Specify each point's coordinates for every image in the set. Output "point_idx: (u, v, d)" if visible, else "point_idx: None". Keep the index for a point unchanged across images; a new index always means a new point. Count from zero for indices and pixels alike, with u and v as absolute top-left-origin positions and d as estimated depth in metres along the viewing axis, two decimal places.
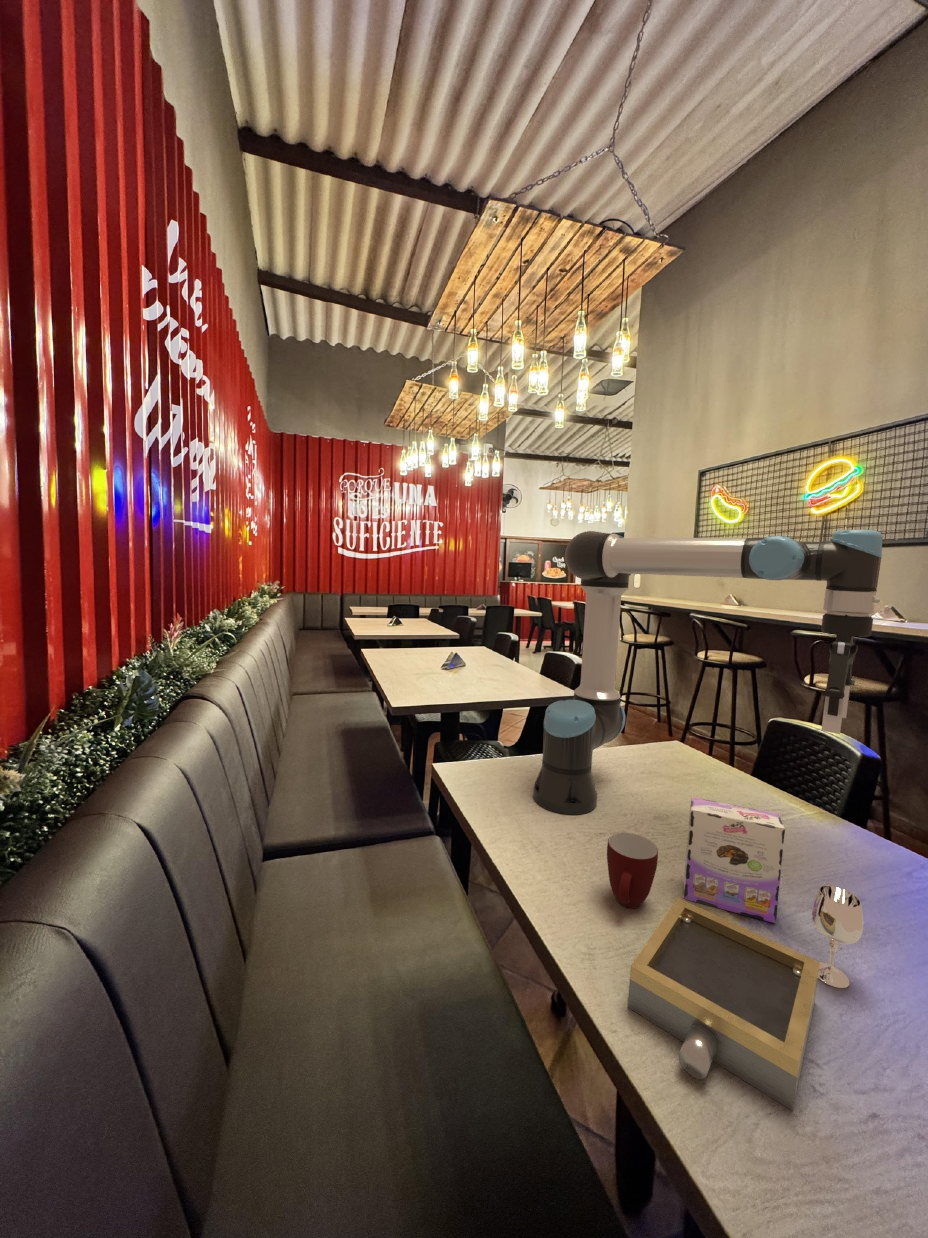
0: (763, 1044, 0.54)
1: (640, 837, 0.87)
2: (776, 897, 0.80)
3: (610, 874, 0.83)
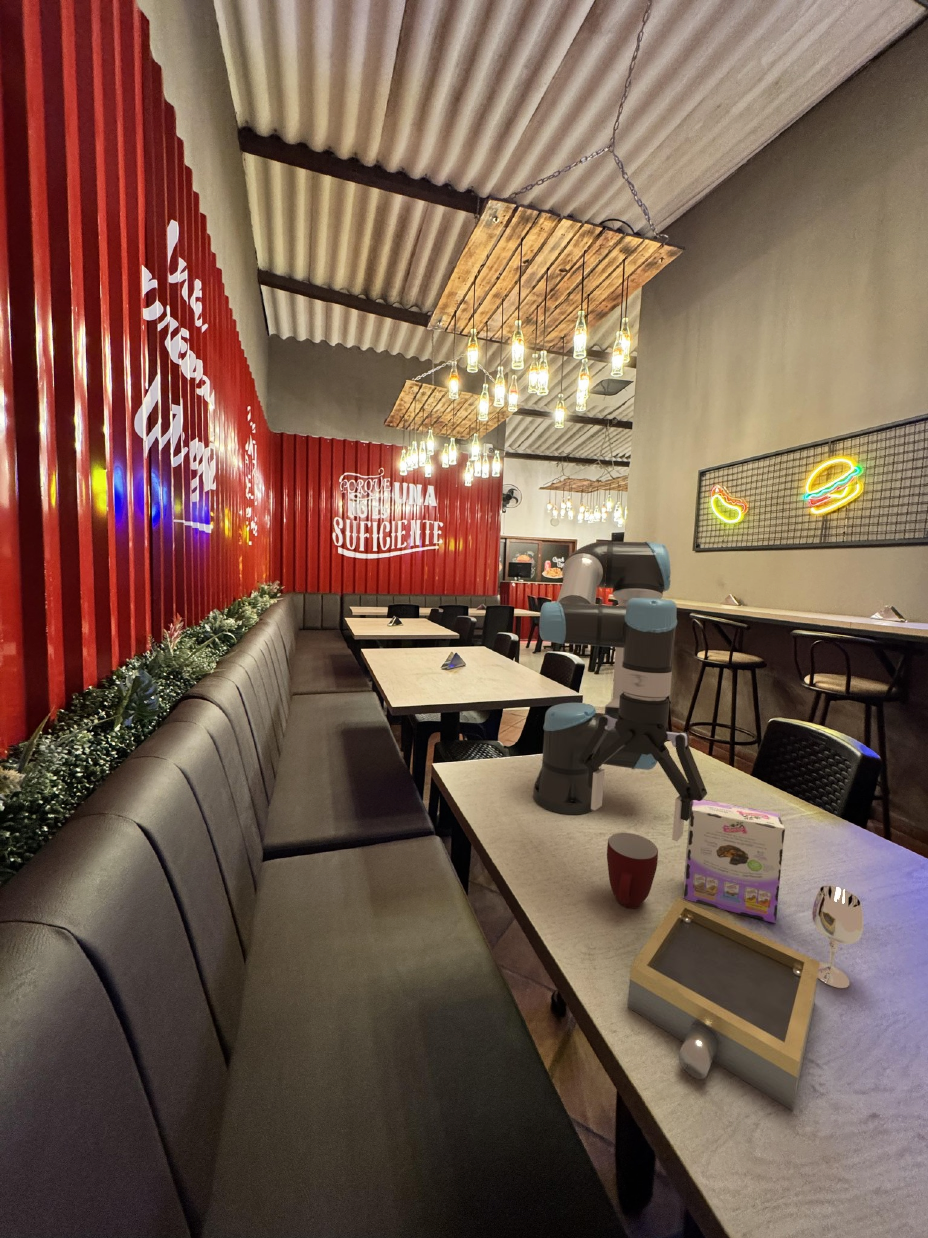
0: (763, 1044, 0.54)
1: (640, 837, 0.87)
2: (776, 897, 0.80)
3: (610, 874, 0.83)
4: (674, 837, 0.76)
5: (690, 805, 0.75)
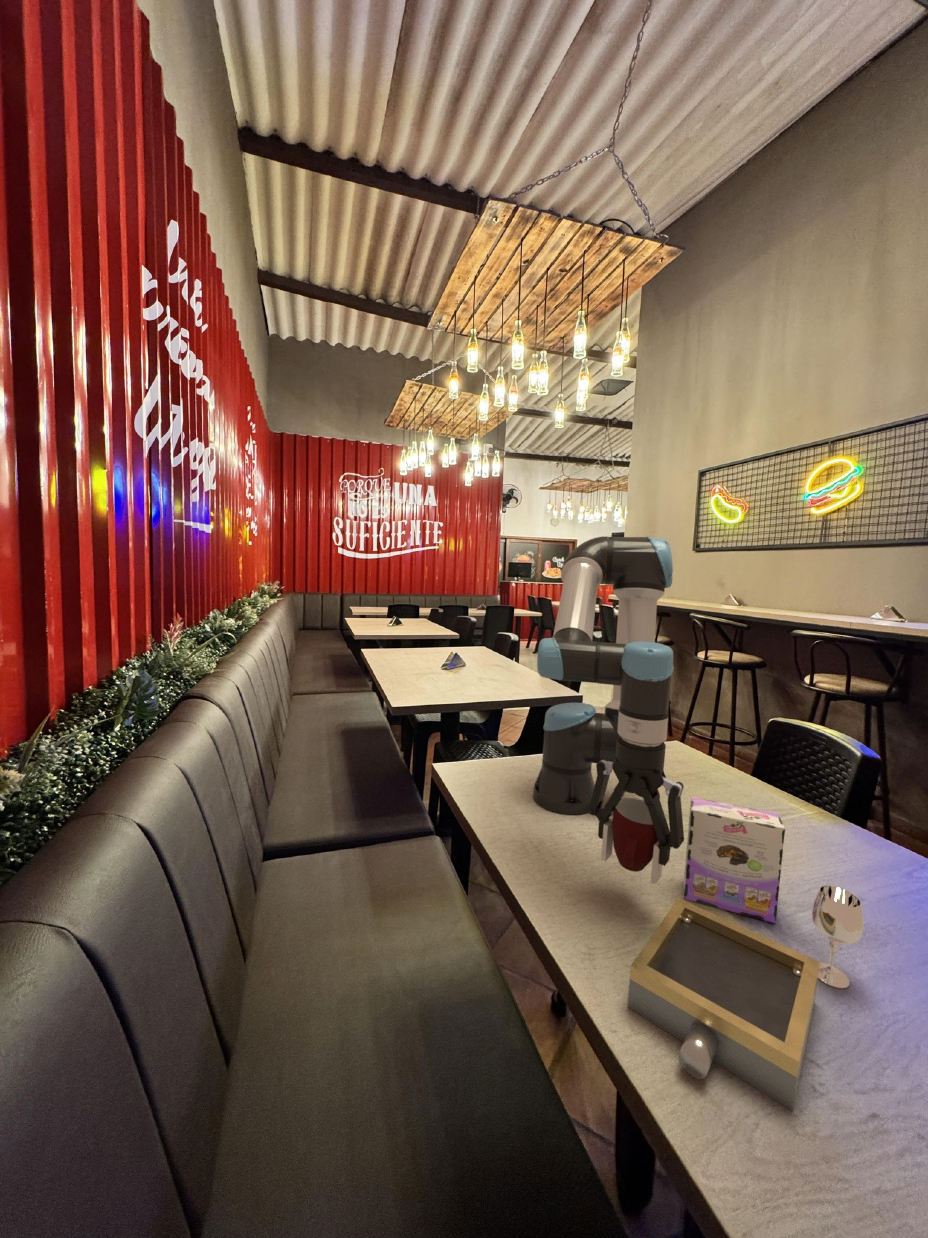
0: (763, 1044, 0.54)
1: None
2: (776, 897, 0.80)
3: (615, 838, 0.83)
4: (652, 880, 0.80)
5: (668, 851, 0.79)
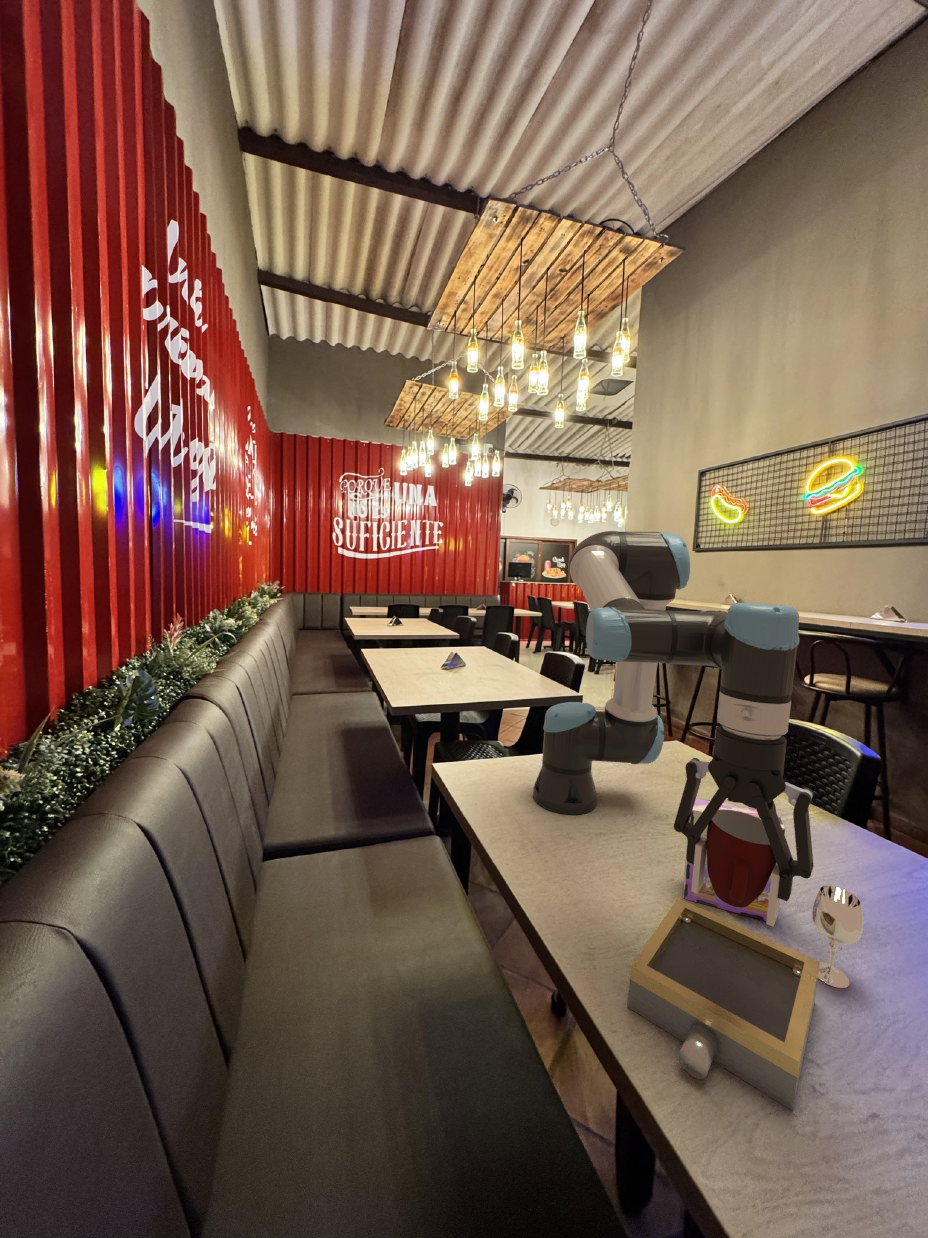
0: (763, 1044, 0.54)
1: (749, 816, 0.66)
2: None
3: (712, 862, 0.63)
4: (769, 921, 0.59)
5: (791, 881, 0.59)
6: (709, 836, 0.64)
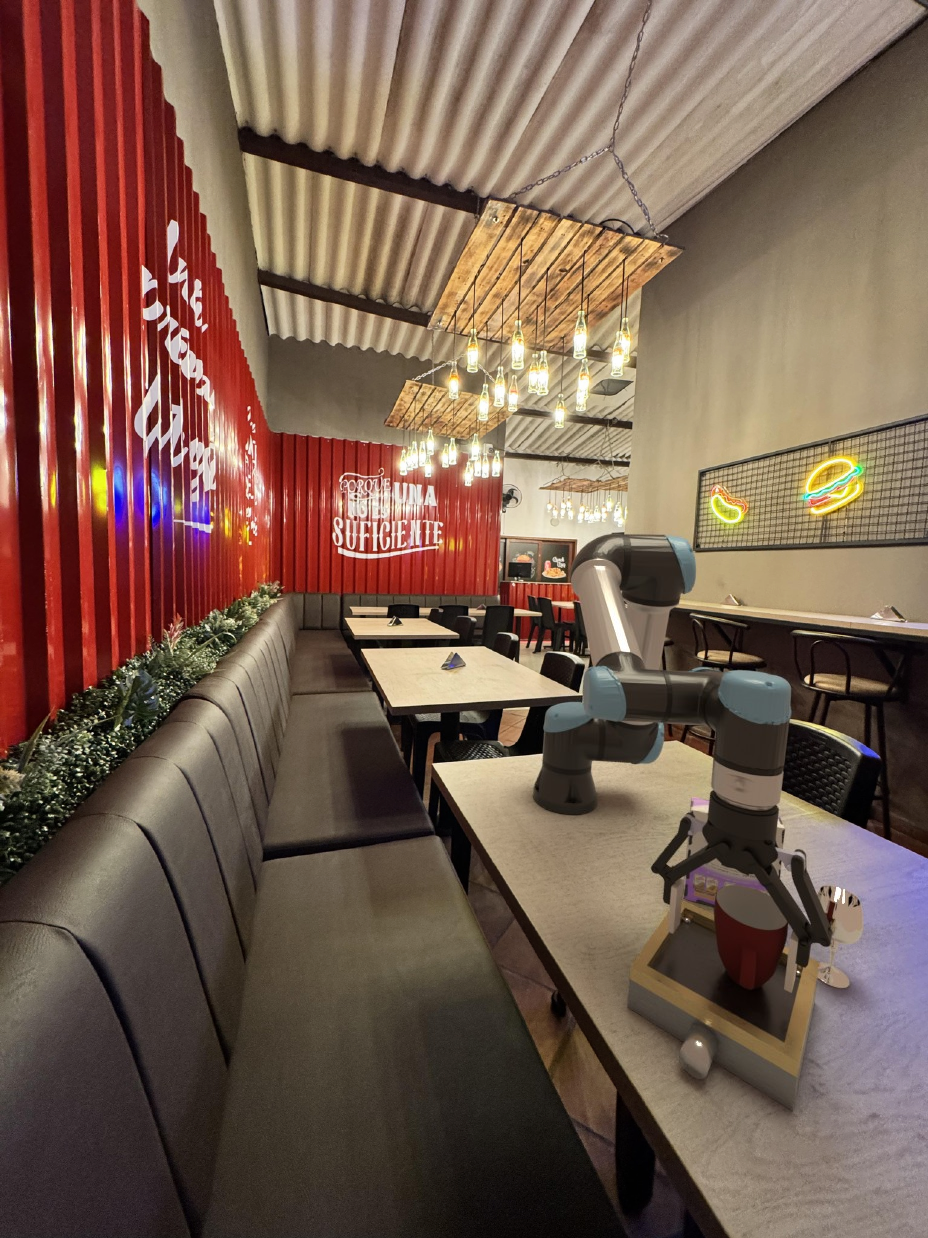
0: (763, 1044, 0.54)
1: (756, 892, 0.66)
2: None
3: (721, 944, 0.63)
4: (787, 987, 0.59)
5: (810, 947, 0.58)
6: (716, 918, 0.64)
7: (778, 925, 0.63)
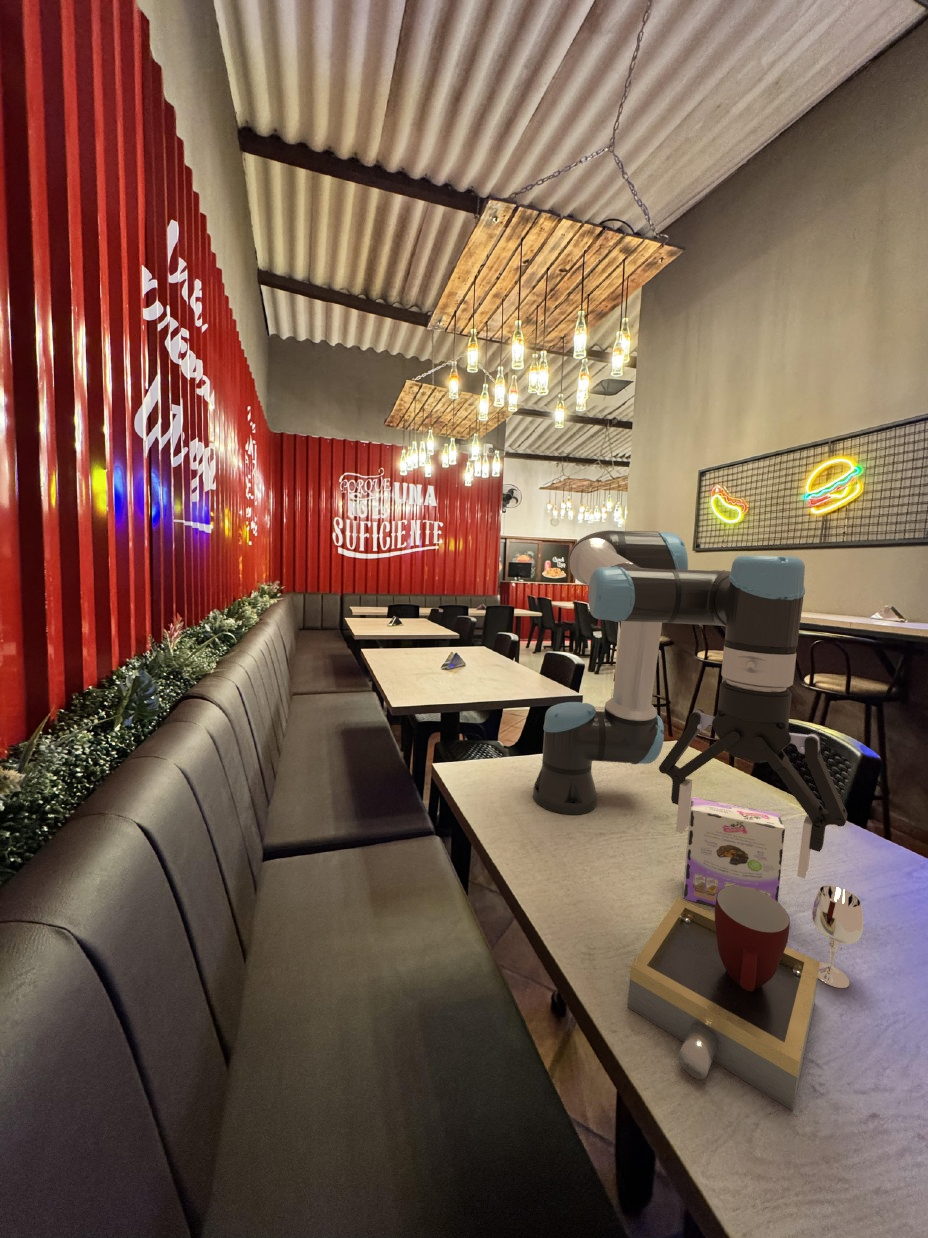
0: (763, 1044, 0.54)
1: (757, 892, 0.65)
2: (776, 897, 0.80)
3: (722, 945, 0.63)
4: (800, 873, 0.57)
5: (824, 831, 0.56)
6: (717, 919, 0.63)
7: (779, 926, 0.63)
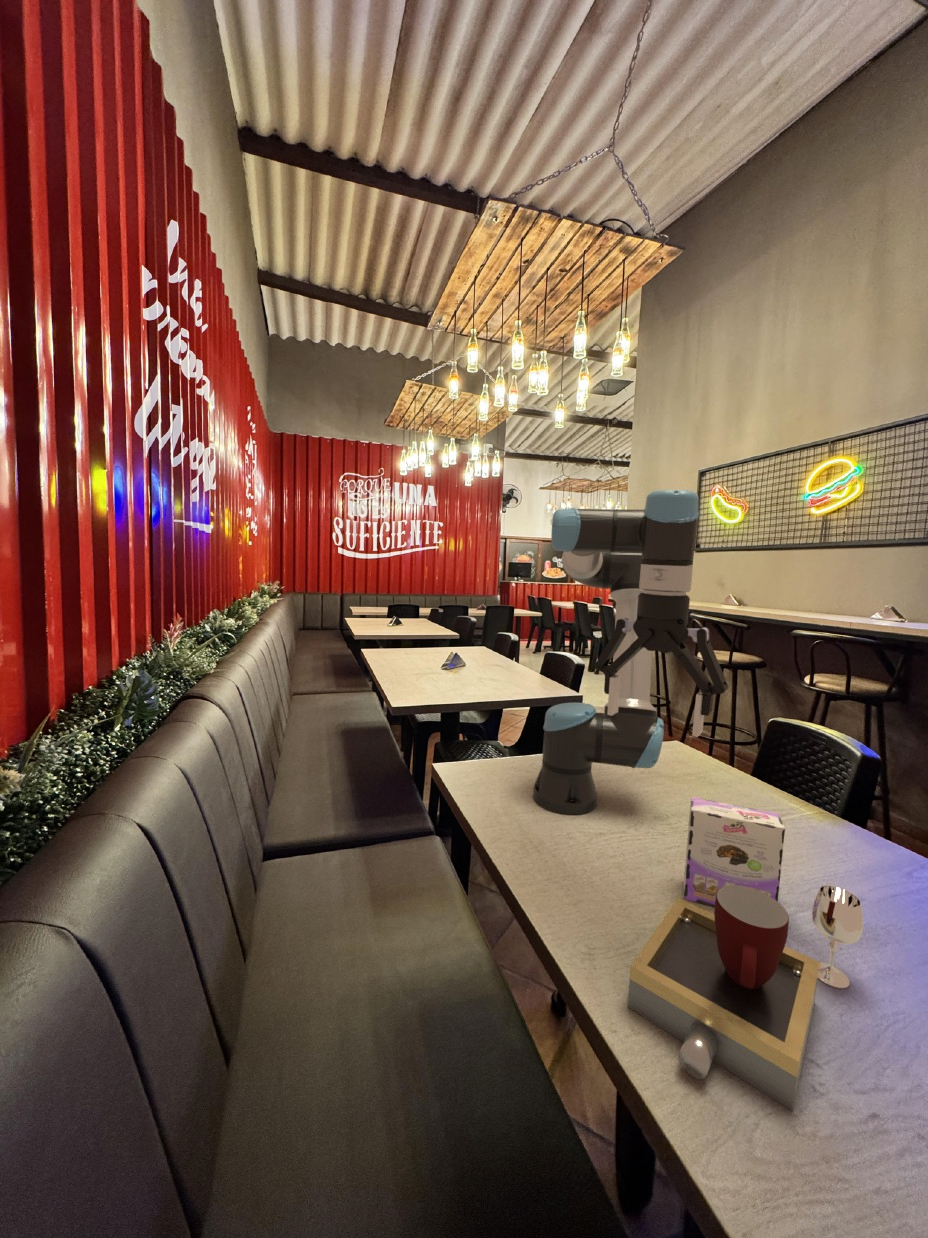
0: (763, 1044, 0.54)
1: (757, 892, 0.66)
2: (776, 897, 0.80)
3: (721, 943, 0.63)
4: (694, 733, 0.75)
5: (711, 700, 0.74)
6: (716, 917, 0.64)
7: (778, 925, 0.63)
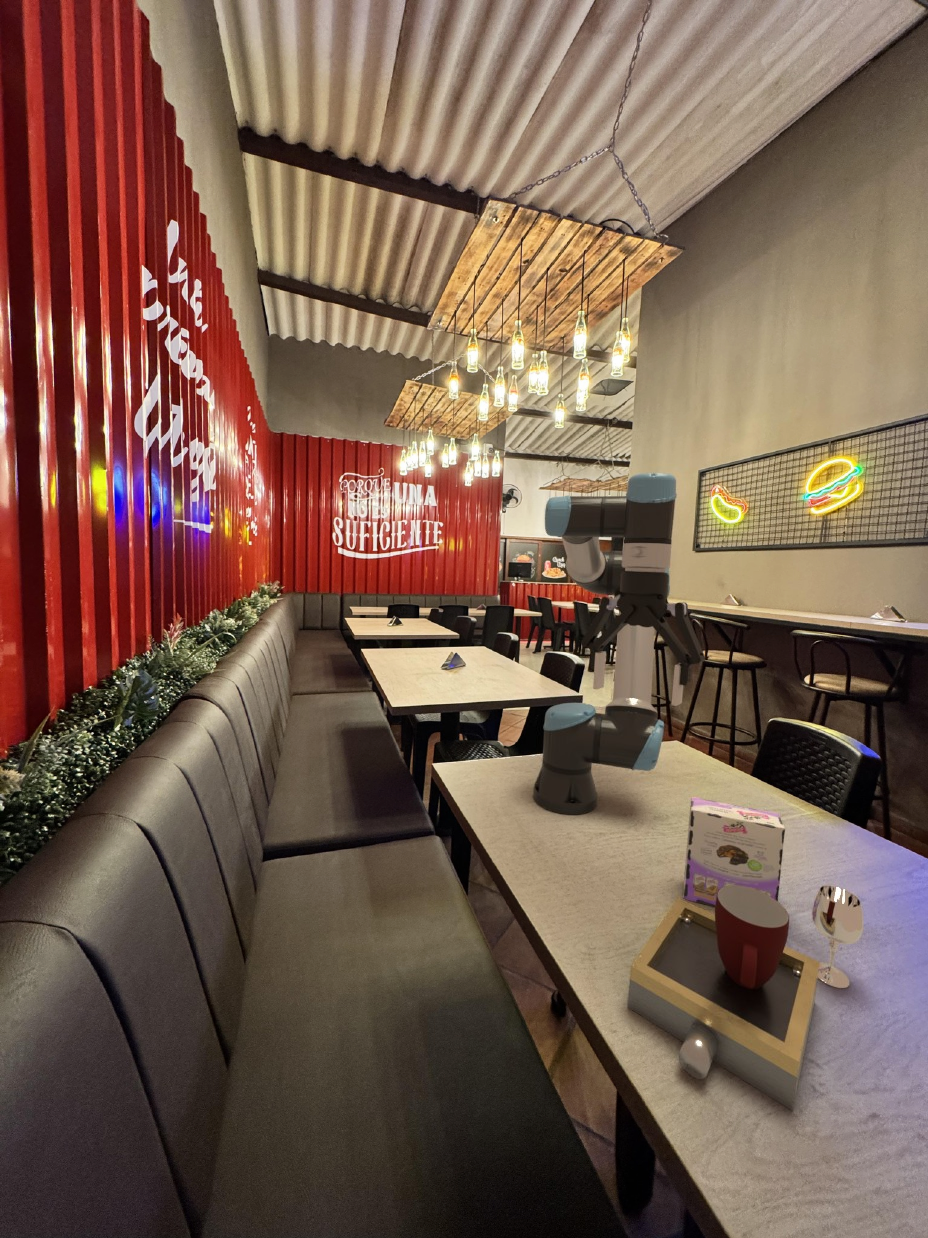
0: (763, 1044, 0.54)
1: (757, 892, 0.66)
2: (776, 897, 0.80)
3: (722, 943, 0.63)
4: (673, 702, 0.79)
5: (689, 670, 0.78)
6: (717, 916, 0.64)
7: (778, 925, 0.63)
